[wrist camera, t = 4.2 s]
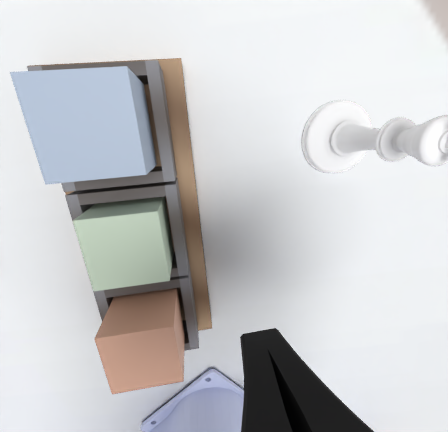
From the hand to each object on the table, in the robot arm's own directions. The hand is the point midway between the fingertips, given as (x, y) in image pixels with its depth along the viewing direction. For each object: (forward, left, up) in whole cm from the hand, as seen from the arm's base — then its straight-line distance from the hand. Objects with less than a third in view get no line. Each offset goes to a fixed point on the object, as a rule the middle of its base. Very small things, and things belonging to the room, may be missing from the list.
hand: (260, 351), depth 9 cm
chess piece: (+11, 0, -11) cm, 15 cm away
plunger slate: (+1, +10, -7) cm, 12 cm away
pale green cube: (-3, +5, -9) cm, 11 cm away
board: (-3, +5, -10) cm, 12 cm away
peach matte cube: (-7, +1, -7) cm, 10 cm away
